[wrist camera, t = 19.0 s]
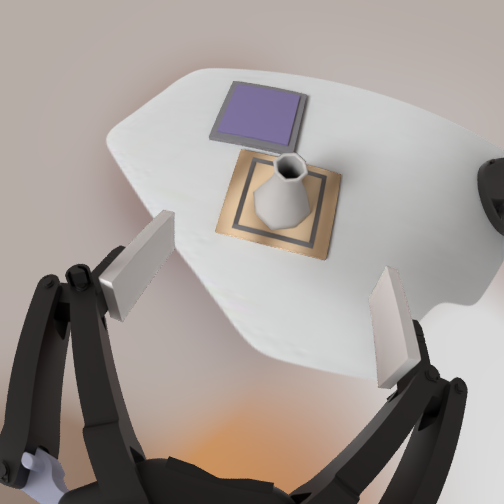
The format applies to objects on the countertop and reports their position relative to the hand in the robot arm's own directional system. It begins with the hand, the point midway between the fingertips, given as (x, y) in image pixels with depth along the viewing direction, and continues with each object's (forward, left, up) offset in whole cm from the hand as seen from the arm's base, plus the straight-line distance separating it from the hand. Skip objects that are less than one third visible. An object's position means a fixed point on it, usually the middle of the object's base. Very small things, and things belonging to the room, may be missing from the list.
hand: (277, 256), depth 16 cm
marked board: (+1, -10, -17) cm, 20 cm away
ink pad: (+7, -23, -17) cm, 30 cm away
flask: (0, -10, -17) cm, 19 cm away
